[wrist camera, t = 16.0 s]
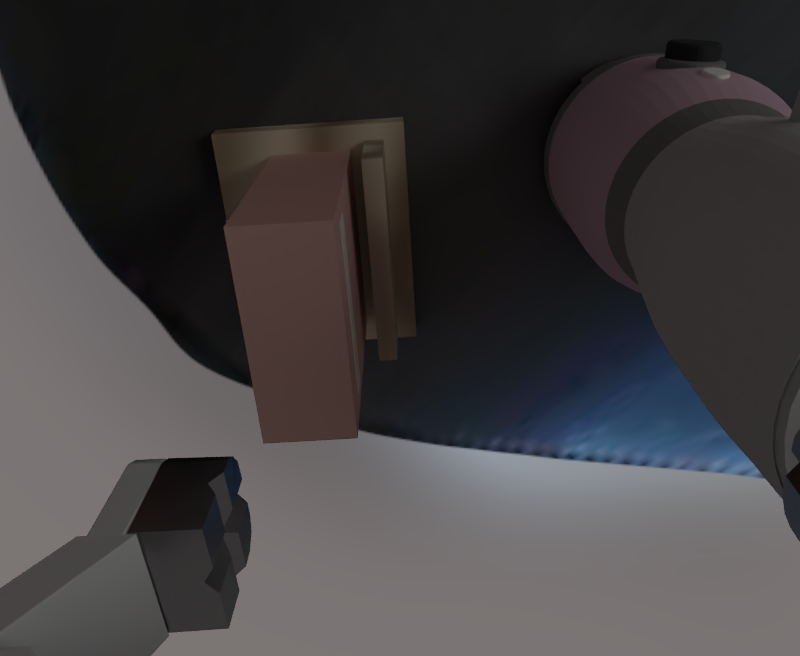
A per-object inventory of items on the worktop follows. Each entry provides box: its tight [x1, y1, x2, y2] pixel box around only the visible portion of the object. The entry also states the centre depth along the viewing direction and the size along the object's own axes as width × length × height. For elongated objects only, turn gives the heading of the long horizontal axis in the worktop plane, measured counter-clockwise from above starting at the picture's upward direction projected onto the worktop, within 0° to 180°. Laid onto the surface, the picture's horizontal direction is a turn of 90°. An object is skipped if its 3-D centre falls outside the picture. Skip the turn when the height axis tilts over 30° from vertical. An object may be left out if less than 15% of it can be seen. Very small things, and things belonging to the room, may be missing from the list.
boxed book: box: [223, 150, 367, 443], centre depth 41 cm, size 5×12×14 cm, turn 4°
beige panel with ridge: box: [211, 117, 417, 361], centre depth 46 cm, size 12×15×6 cm
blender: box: [544, 40, 800, 499], centre depth 31 cm, size 16×12×32 cm
